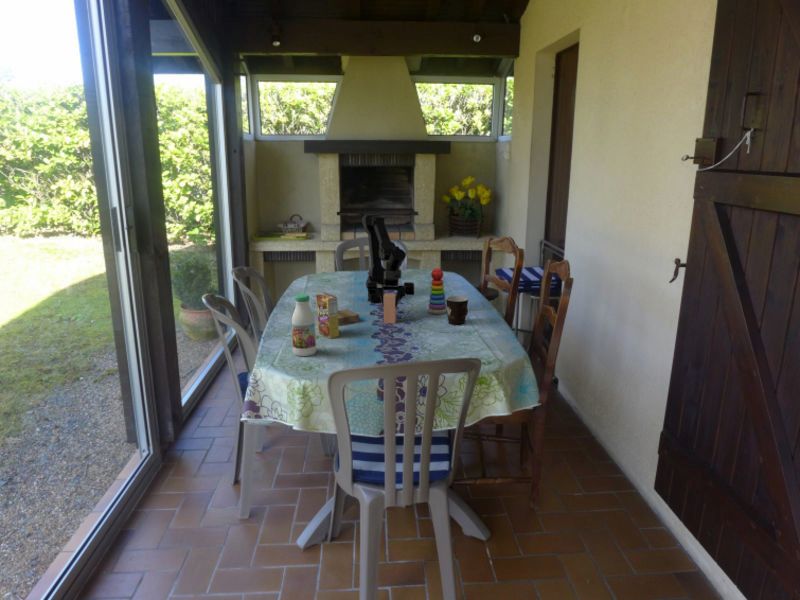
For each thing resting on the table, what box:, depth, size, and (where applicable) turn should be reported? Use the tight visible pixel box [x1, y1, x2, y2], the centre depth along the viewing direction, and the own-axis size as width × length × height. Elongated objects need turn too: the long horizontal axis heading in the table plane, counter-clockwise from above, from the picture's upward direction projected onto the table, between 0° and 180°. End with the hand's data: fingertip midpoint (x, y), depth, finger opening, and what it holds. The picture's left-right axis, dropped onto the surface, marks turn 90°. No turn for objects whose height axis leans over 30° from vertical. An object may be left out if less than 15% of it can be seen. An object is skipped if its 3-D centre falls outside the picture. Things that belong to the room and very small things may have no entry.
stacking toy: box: [427, 268, 447, 315], centre depth 232 cm, size 8×8×19 cm
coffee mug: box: [445, 295, 469, 326], centre depth 217 cm, size 12×9×10 cm
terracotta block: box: [383, 293, 397, 324], centre depth 220 cm, size 4×4×11 cm
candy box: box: [315, 292, 340, 339], centre depth 204 cm, size 9×4×15 cm, turn 37°
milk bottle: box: [291, 293, 317, 357], centre depth 185 cm, size 8×8×20 cm
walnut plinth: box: [338, 308, 360, 327], centre depth 222 cm, size 10×10×3 cm
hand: (389, 306), depth 219 cm, fingers closed on terracotta block, 4 cm apart
